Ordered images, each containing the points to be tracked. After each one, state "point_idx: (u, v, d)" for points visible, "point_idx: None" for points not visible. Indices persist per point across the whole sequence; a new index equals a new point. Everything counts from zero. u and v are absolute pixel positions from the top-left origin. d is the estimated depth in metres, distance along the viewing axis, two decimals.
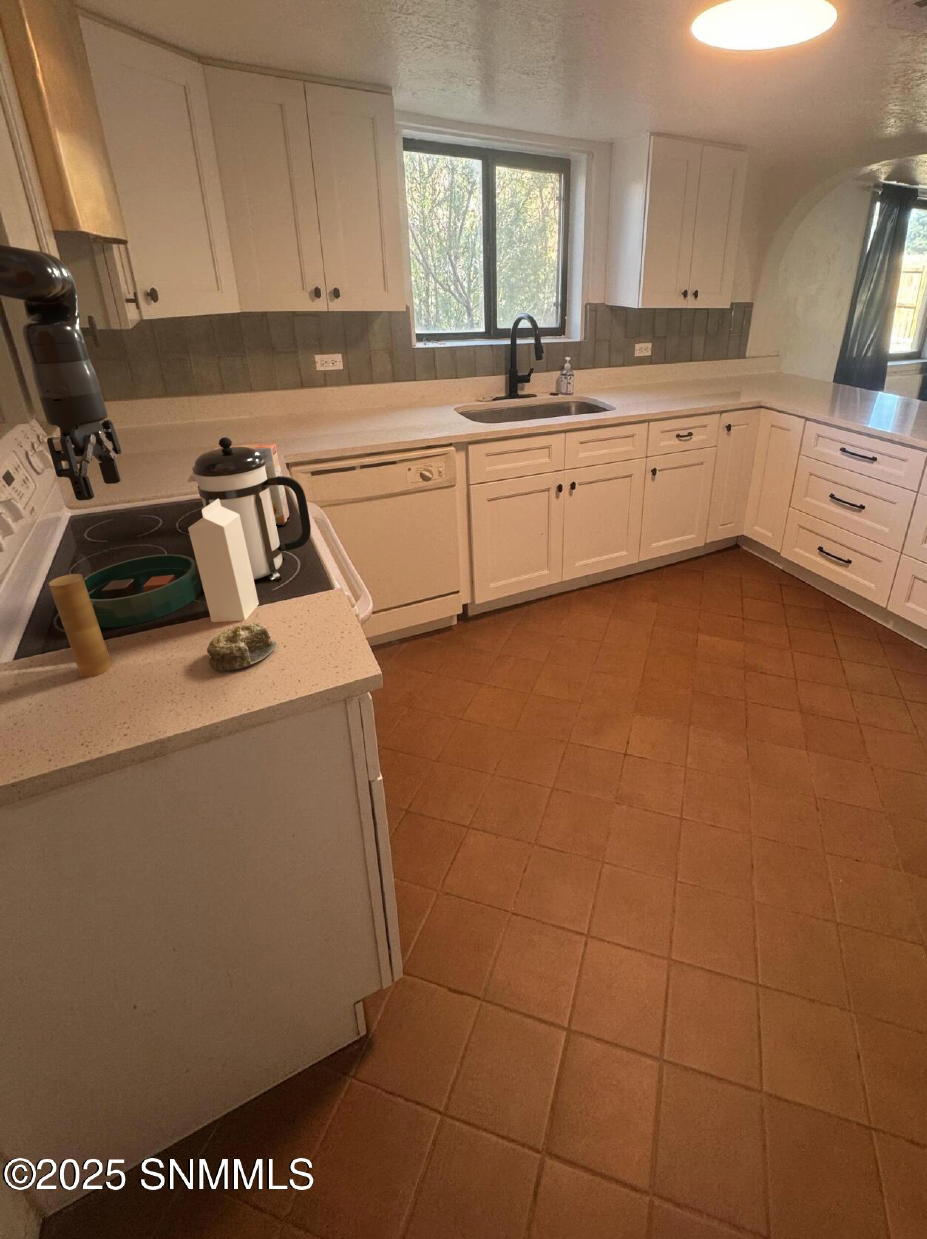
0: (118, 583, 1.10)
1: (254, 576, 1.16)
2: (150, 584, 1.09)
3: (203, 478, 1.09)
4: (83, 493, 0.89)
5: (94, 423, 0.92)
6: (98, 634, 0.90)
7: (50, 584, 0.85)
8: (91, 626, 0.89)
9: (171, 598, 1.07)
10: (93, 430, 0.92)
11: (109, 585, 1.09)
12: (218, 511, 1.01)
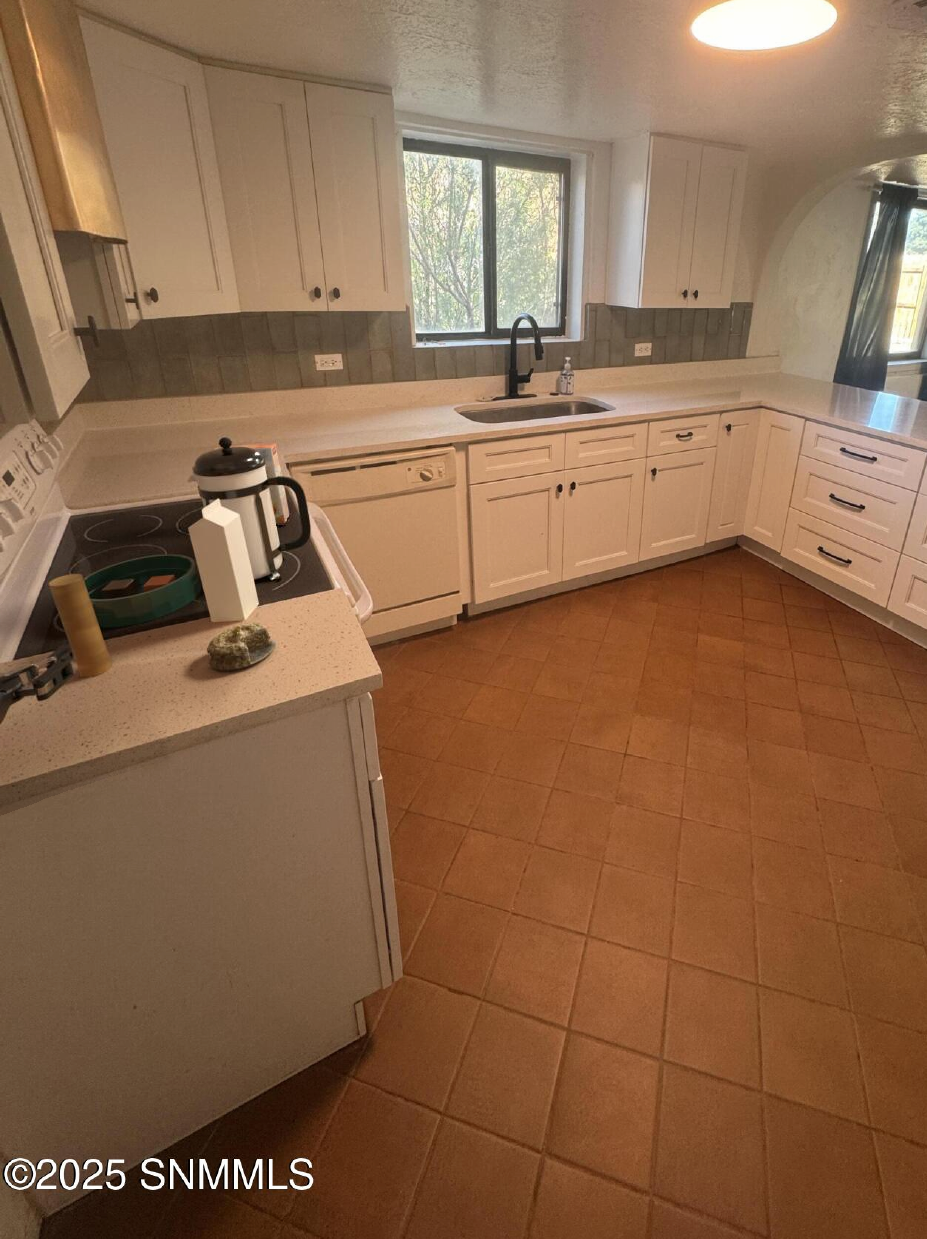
0: (118, 583, 1.10)
1: (254, 576, 1.16)
2: (150, 584, 1.09)
3: (203, 478, 1.09)
4: None
5: None
6: (98, 634, 0.90)
7: (50, 584, 0.85)
8: (91, 626, 0.89)
9: (171, 598, 1.07)
10: None
11: (109, 585, 1.09)
12: (218, 511, 1.01)
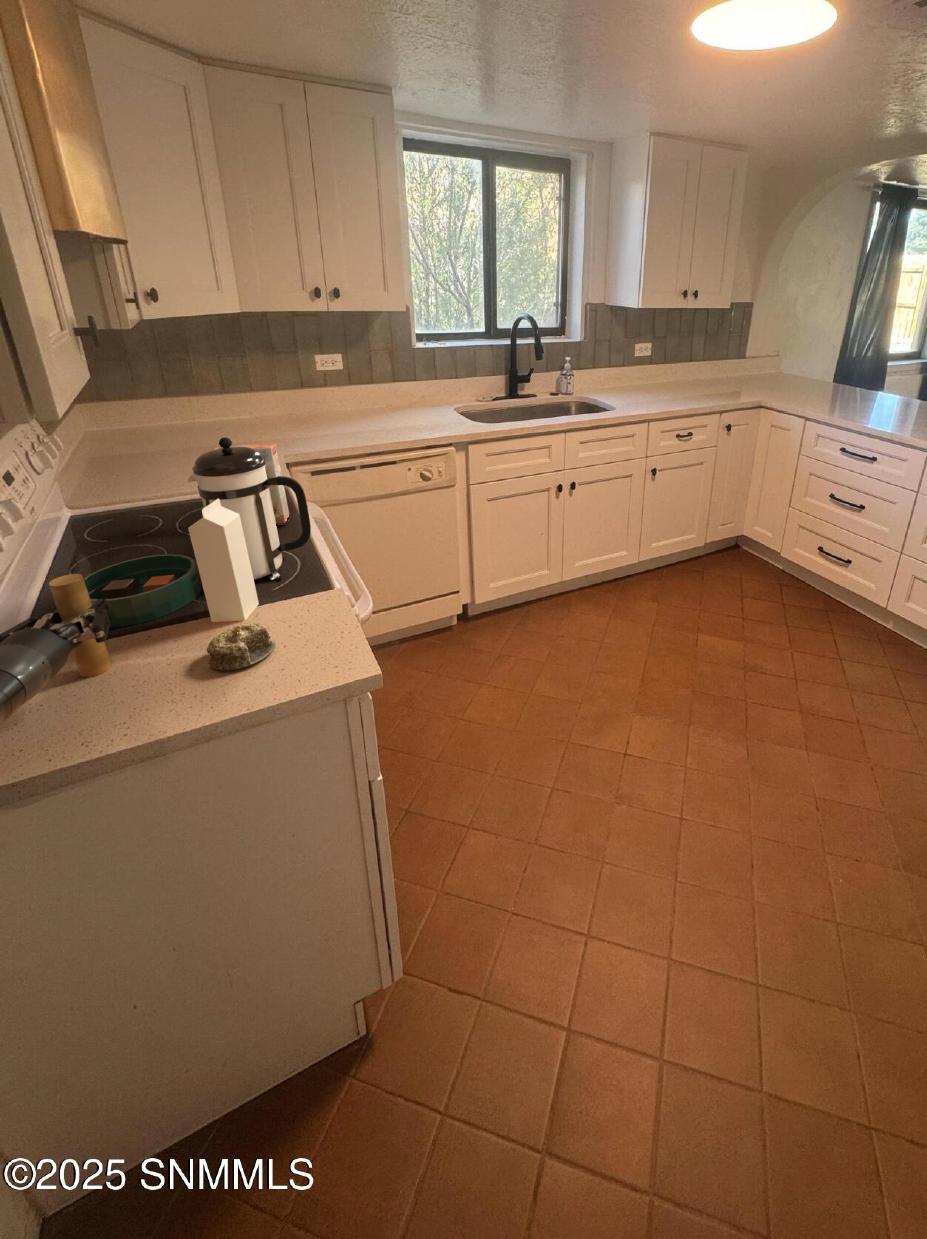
0: (118, 583, 1.10)
1: (254, 576, 1.16)
2: (150, 584, 1.09)
3: (203, 478, 1.09)
4: None
5: None
6: None
7: (50, 584, 0.85)
8: None
9: (171, 598, 1.07)
10: None
11: (109, 585, 1.09)
12: (218, 511, 1.01)
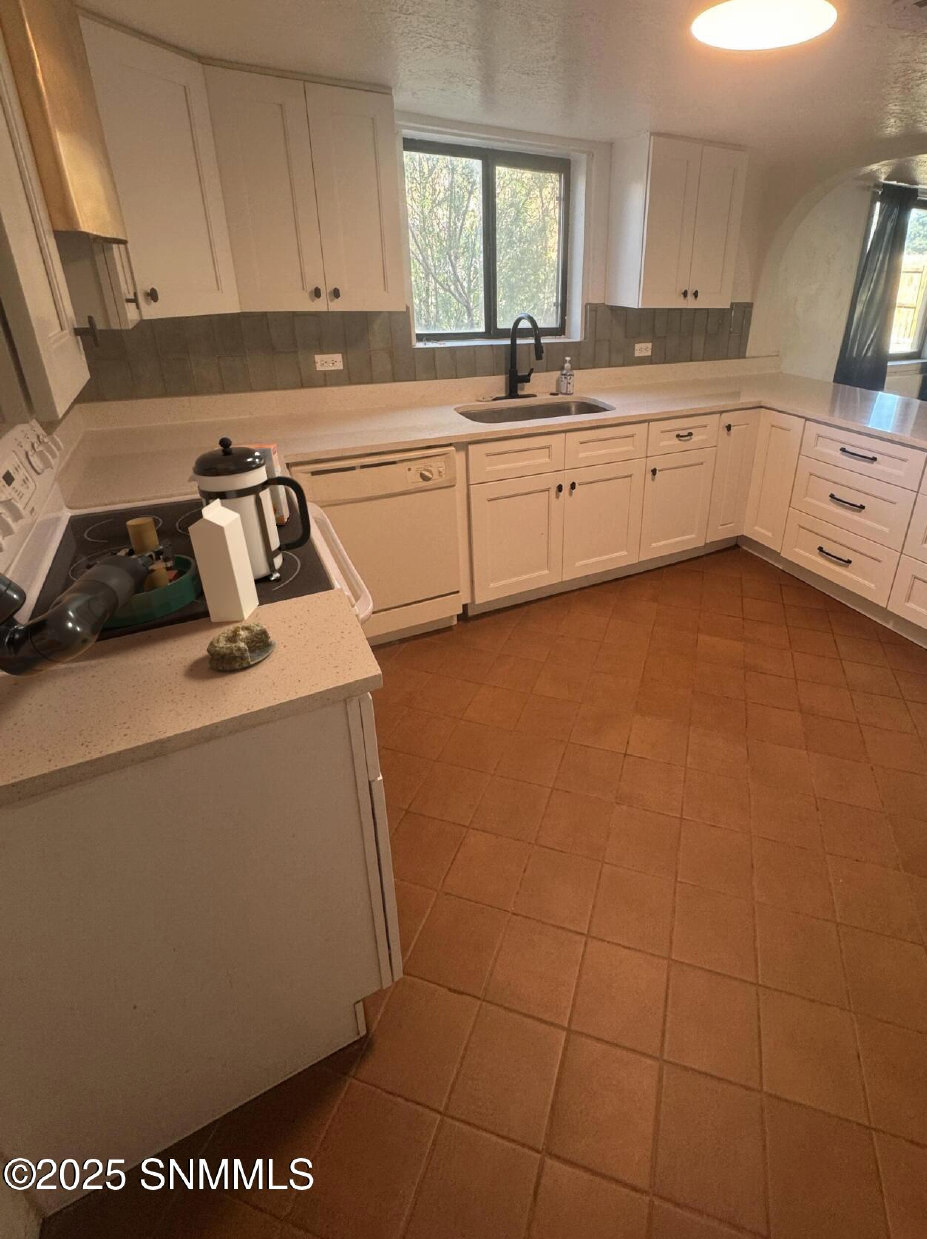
0: None
1: (254, 576, 1.16)
2: None
3: (203, 478, 1.09)
4: None
5: None
6: (163, 568, 1.08)
7: (128, 523, 1.04)
8: None
9: (171, 598, 1.07)
10: None
11: None
12: (218, 511, 1.01)
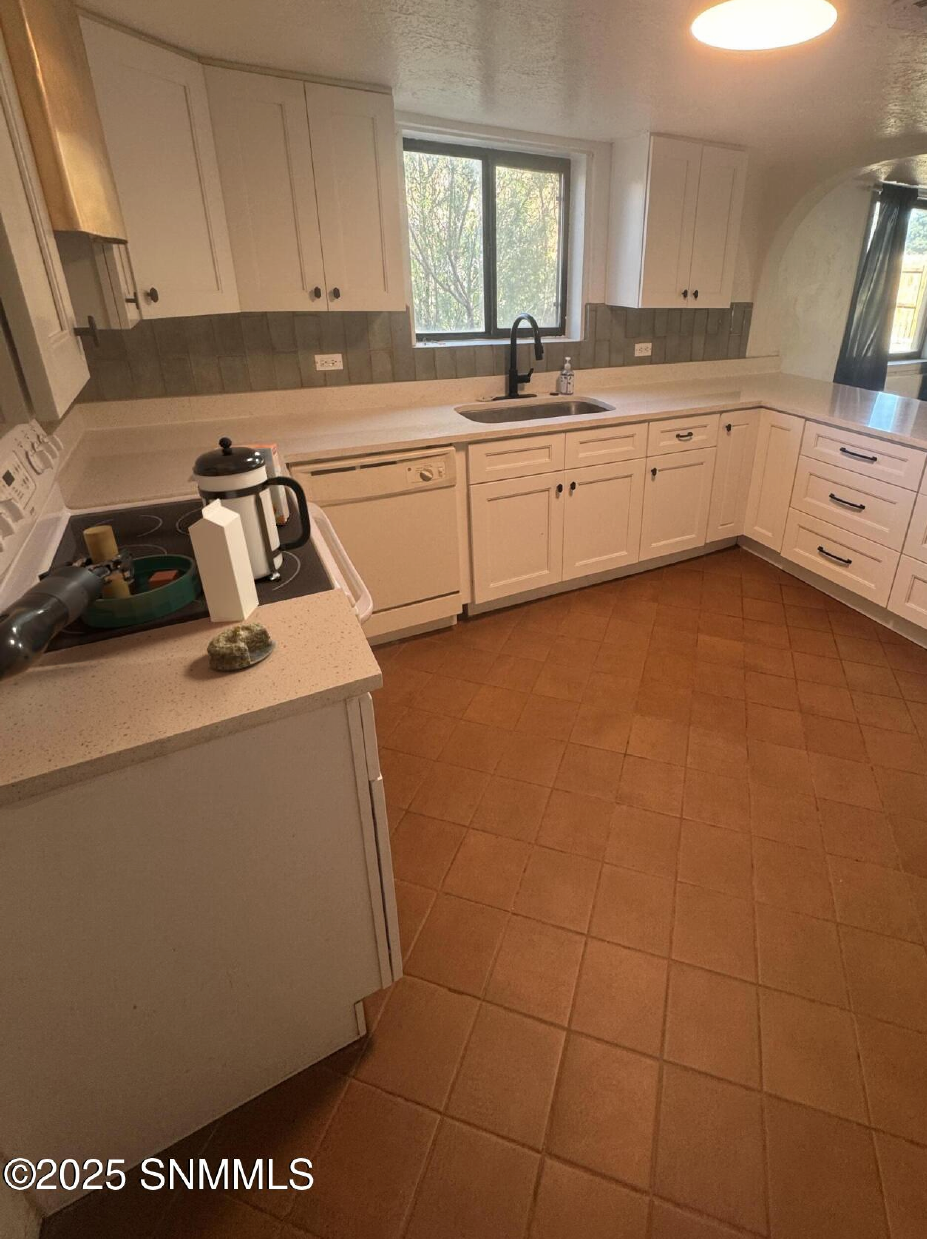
0: None
1: (254, 576, 1.16)
2: (155, 579, 1.11)
3: (203, 478, 1.09)
4: None
5: None
6: None
7: (84, 532, 1.00)
8: None
9: (171, 598, 1.07)
10: None
11: None
12: (218, 511, 1.01)
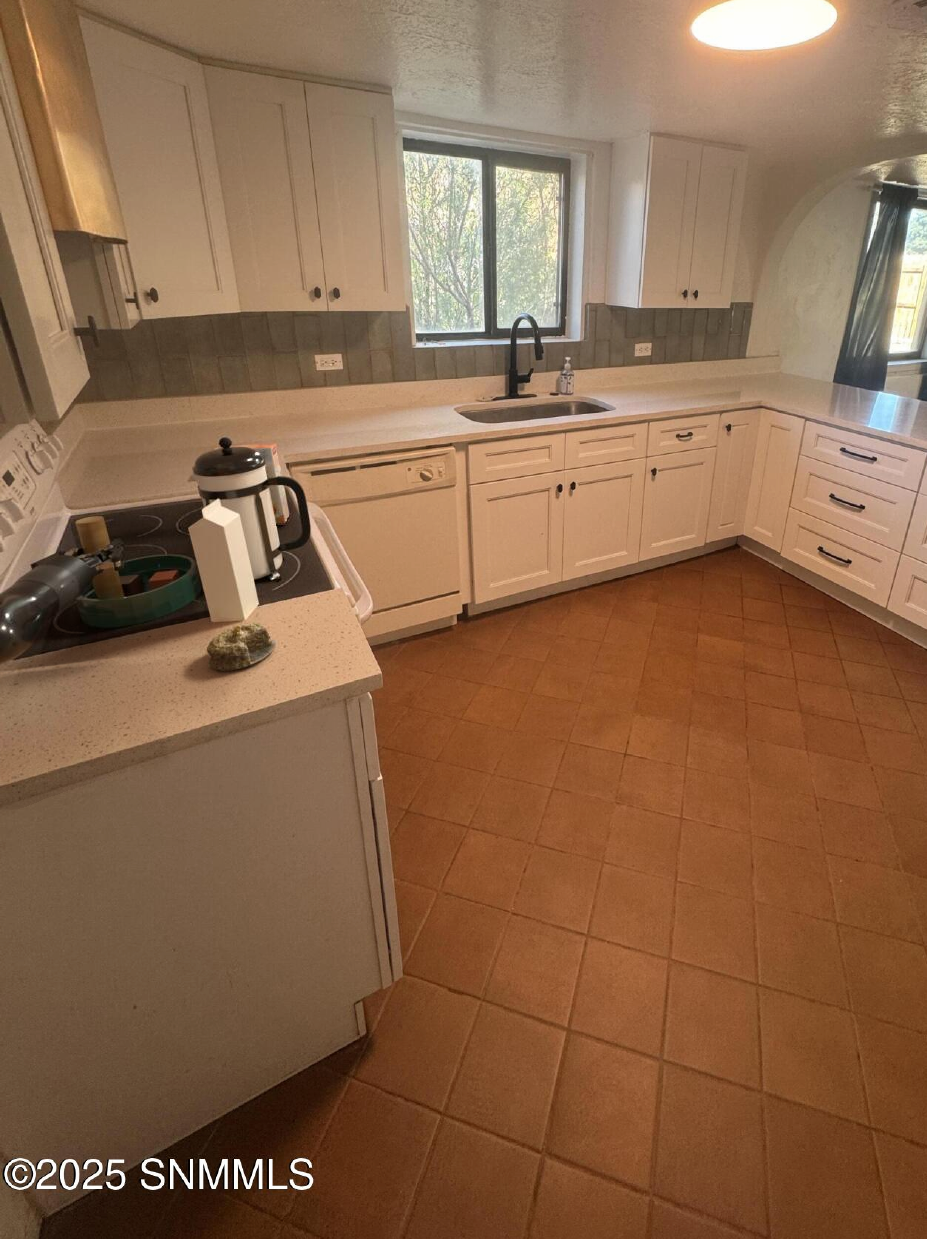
0: (123, 578, 1.12)
1: (254, 576, 1.16)
2: (155, 579, 1.11)
3: (203, 478, 1.09)
4: None
5: None
6: None
7: (77, 522, 1.02)
8: None
9: (171, 598, 1.07)
10: None
11: None
12: (218, 511, 1.01)
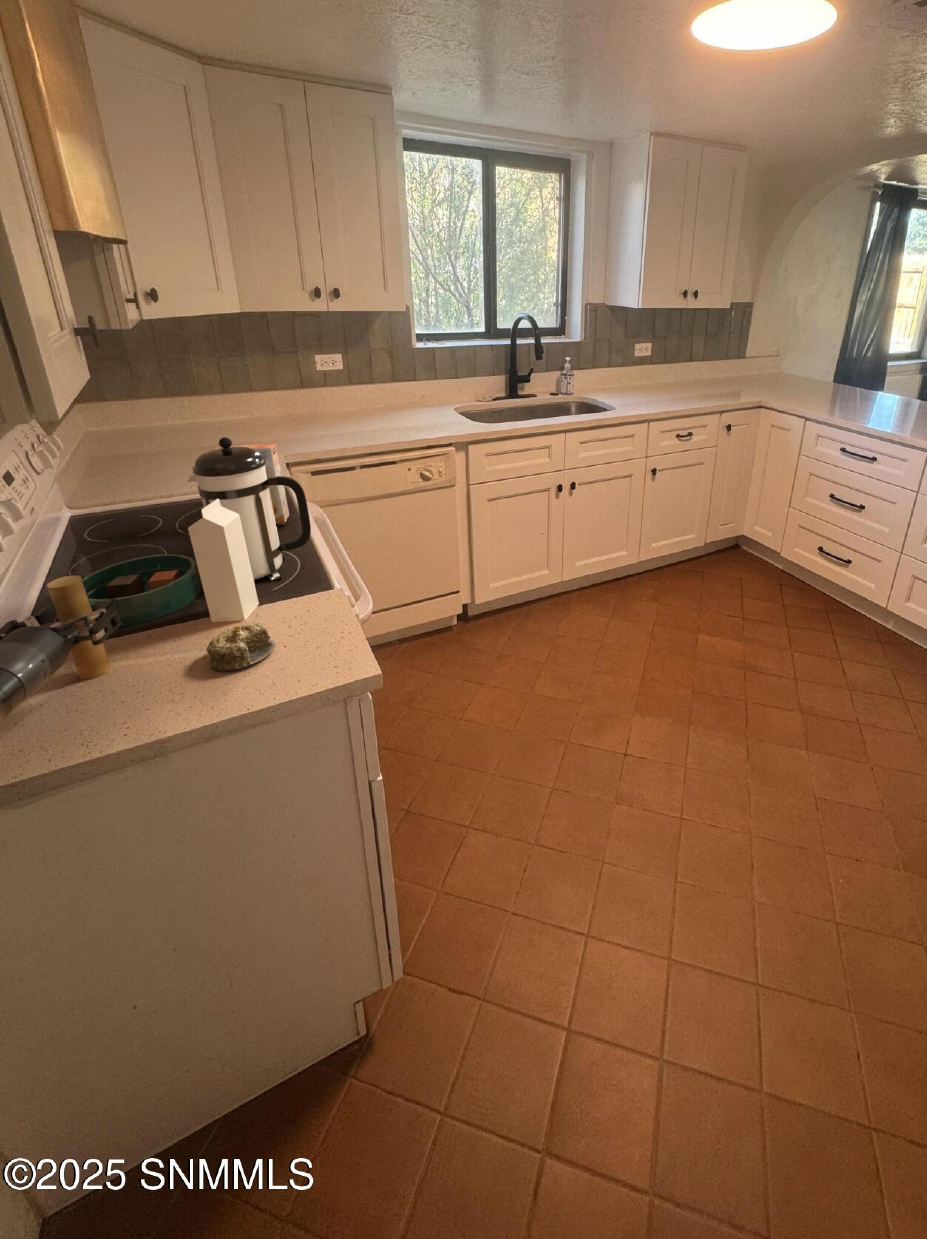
0: (123, 579, 1.12)
1: (254, 576, 1.16)
2: (155, 579, 1.11)
3: (203, 478, 1.09)
4: None
5: None
6: None
7: (48, 586, 0.85)
8: None
9: (171, 598, 1.07)
10: None
11: (114, 581, 1.11)
12: (218, 511, 1.01)
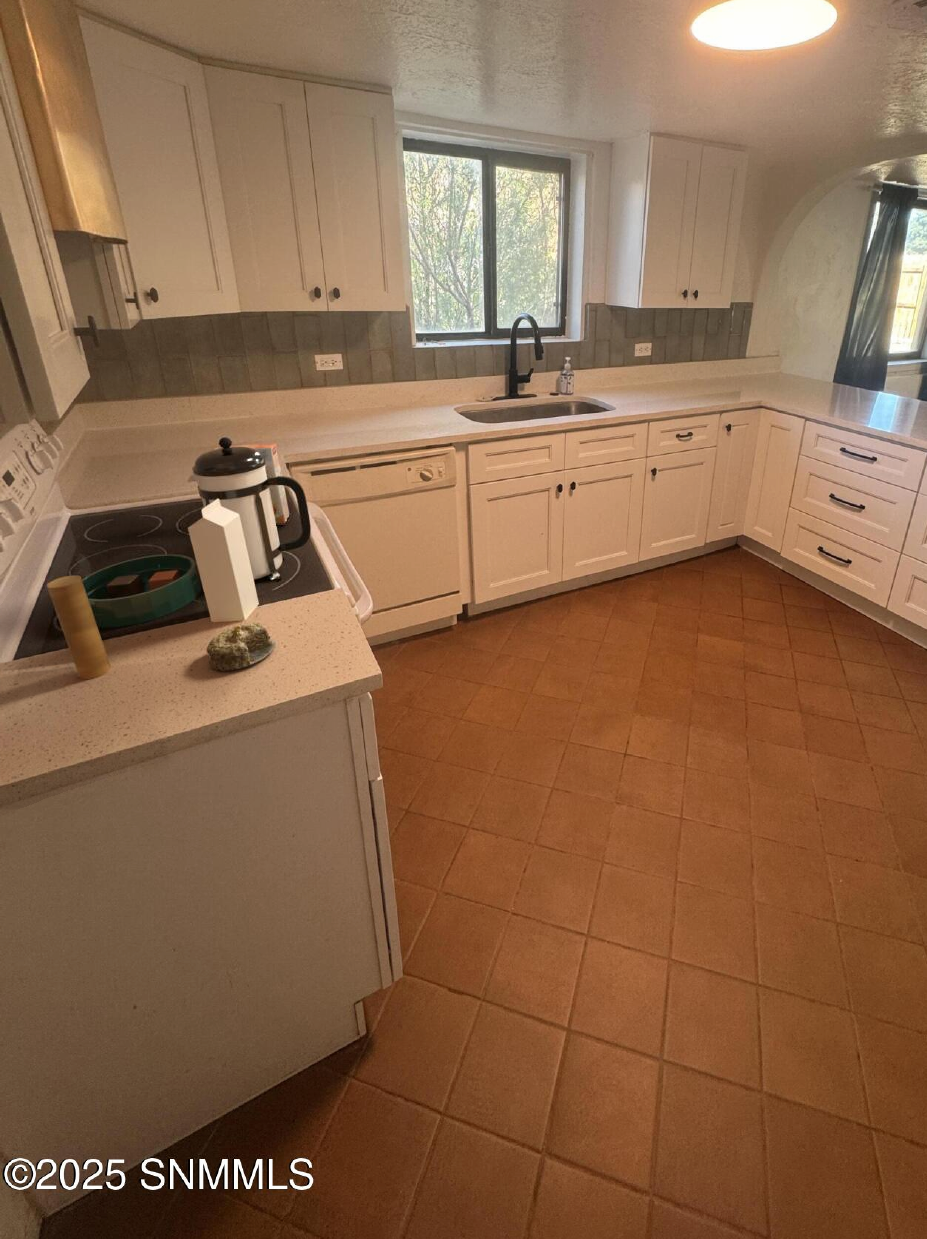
0: (123, 579, 1.12)
1: (254, 576, 1.16)
2: (155, 579, 1.11)
3: (203, 478, 1.09)
4: None
5: None
6: (97, 636, 0.90)
7: (48, 586, 0.85)
8: (89, 628, 0.88)
9: (171, 598, 1.07)
10: None
11: (114, 581, 1.11)
12: (218, 511, 1.01)
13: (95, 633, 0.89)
